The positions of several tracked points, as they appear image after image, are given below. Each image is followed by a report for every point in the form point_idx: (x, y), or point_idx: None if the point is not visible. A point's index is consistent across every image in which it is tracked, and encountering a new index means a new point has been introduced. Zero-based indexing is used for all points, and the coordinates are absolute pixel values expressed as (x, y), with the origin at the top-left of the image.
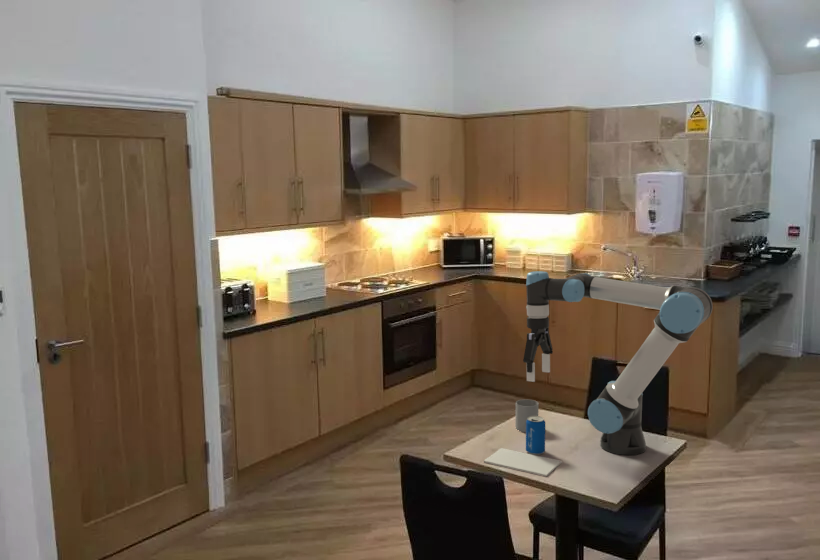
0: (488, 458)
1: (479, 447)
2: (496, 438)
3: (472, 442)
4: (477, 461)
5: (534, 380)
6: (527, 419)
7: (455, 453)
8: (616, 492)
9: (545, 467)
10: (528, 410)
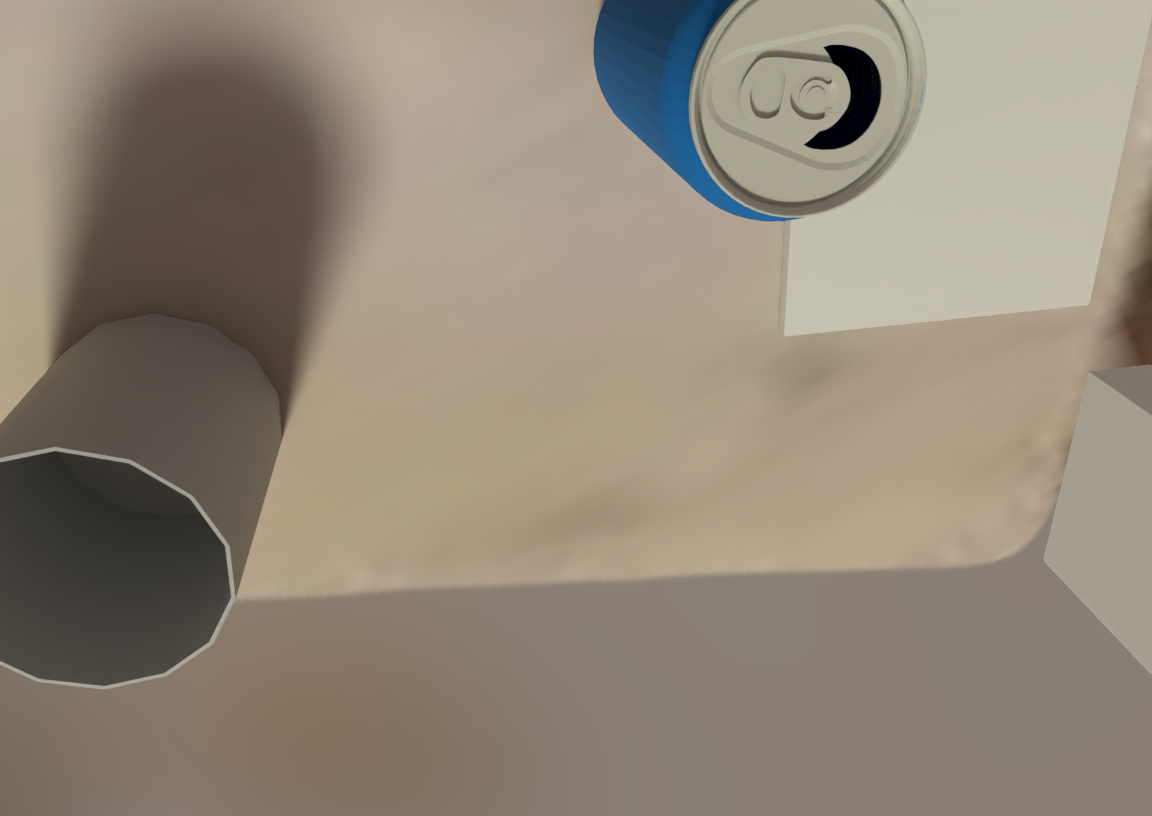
0: (1037, 298)
1: (813, 479)
2: (567, 485)
3: (746, 567)
4: (1077, 345)
5: (1147, 382)
6: (826, 204)
7: (993, 537)
8: None
9: None
10: (205, 469)
